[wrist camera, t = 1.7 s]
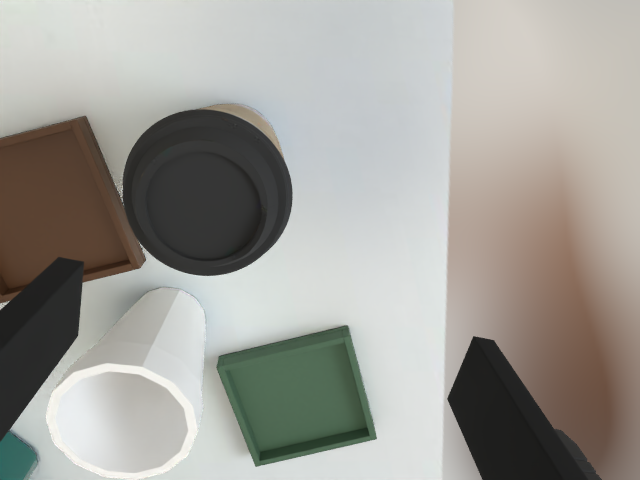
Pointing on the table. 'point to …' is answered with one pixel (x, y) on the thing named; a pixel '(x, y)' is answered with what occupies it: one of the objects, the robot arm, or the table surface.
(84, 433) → the foam cup
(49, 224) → the walnut tray
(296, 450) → the sage tray
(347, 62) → the table surface
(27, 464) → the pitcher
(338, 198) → the table surface
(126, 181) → the coffee cup
